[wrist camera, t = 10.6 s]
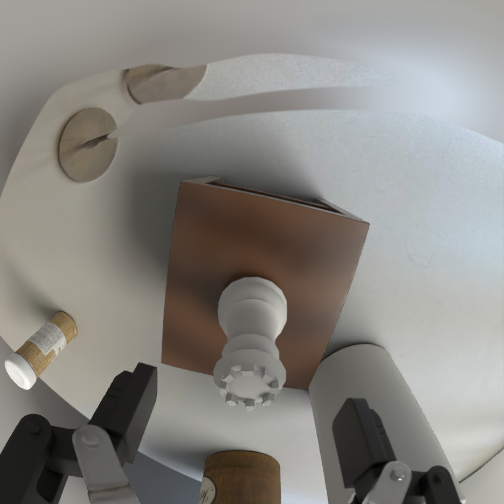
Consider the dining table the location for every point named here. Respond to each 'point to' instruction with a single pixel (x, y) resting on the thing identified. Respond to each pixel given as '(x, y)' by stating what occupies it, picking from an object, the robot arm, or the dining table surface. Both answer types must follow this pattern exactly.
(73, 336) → the sprinkles bottle
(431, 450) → the cylinder vase
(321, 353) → the wooden lidded box
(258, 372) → the rook chess piece
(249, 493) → the wooden container
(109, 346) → the dining table surface
